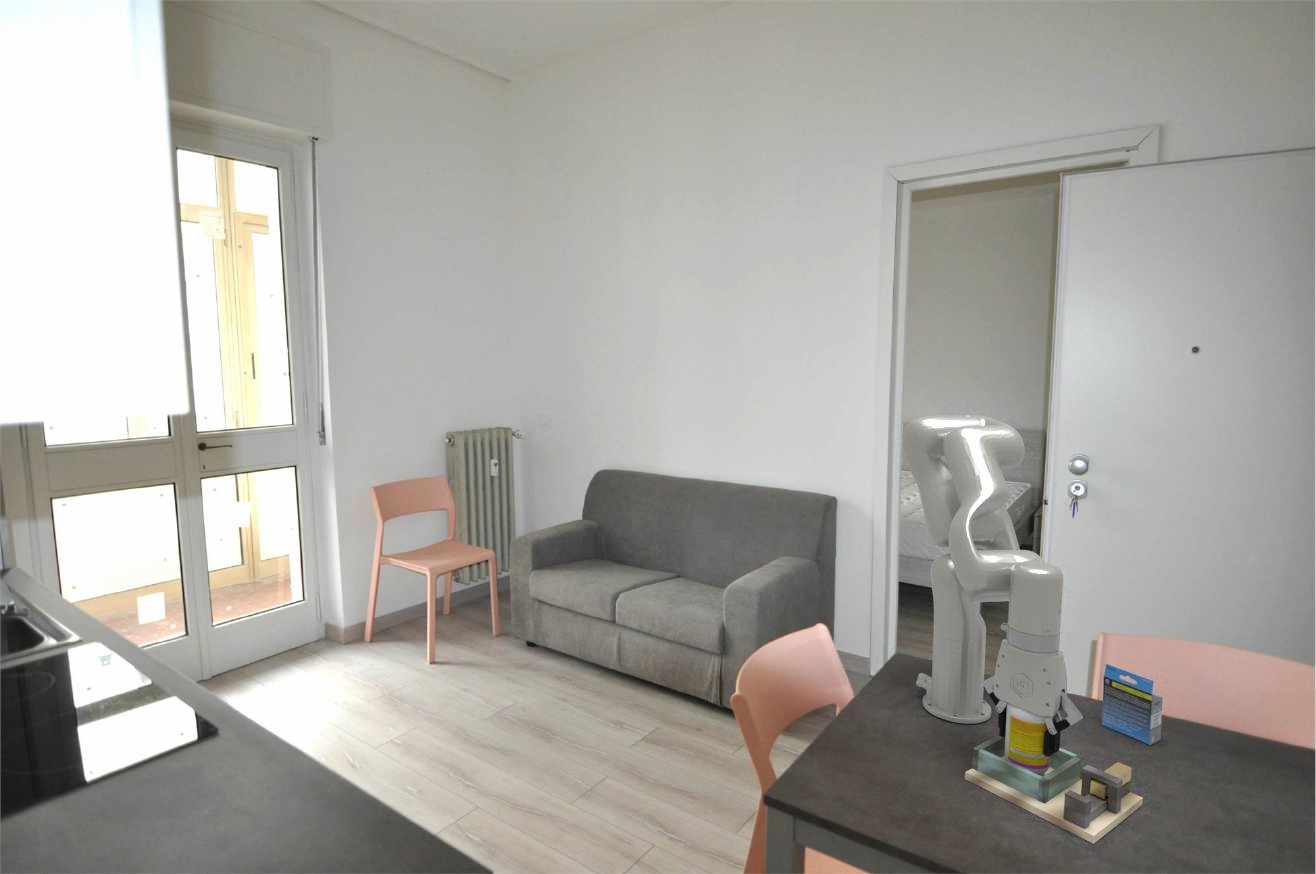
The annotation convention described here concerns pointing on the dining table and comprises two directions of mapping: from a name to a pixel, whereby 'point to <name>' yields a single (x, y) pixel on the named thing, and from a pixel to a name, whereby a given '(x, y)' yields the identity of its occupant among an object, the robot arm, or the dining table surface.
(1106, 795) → the lock bolt
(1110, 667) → the label tape box
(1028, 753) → the supplement bottle
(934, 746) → the dining table surface
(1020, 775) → the dock
